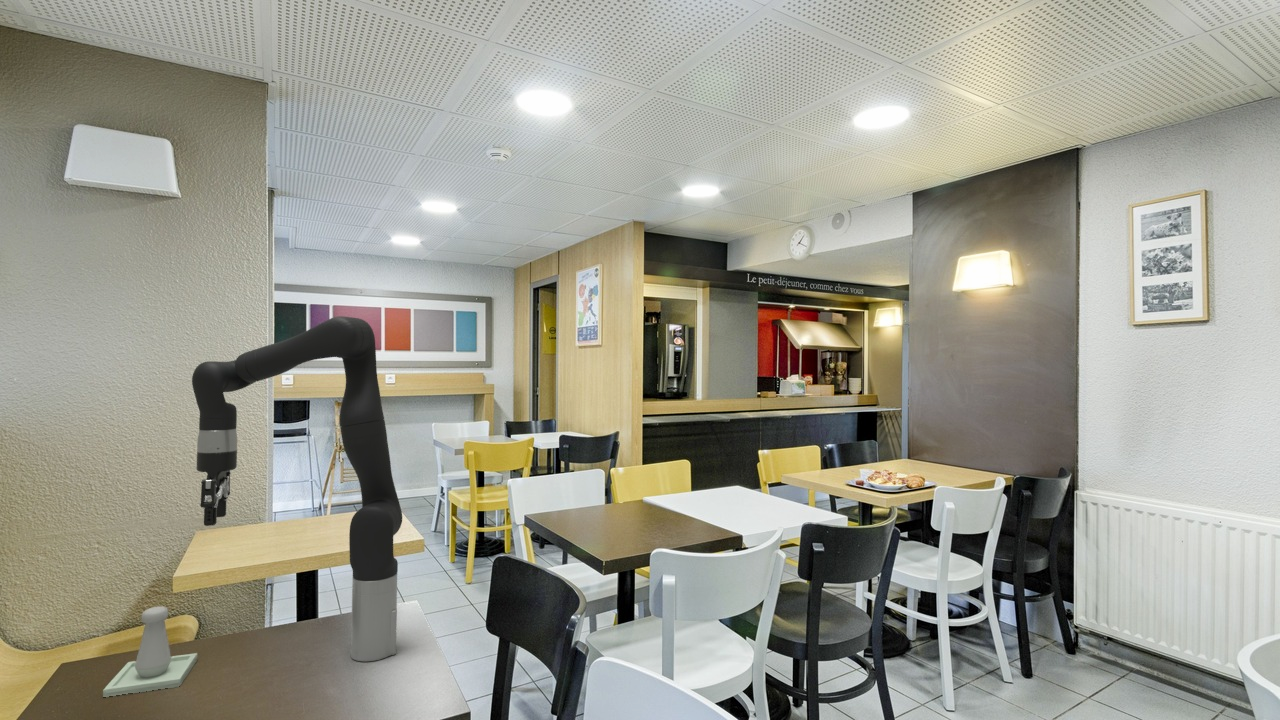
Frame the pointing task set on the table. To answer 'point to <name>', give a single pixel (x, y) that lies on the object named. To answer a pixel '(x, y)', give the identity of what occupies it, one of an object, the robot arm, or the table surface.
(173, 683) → the tray
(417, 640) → the table surface
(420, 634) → the table surface
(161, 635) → the salt shaker
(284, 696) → the table surface
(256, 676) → the table surface
